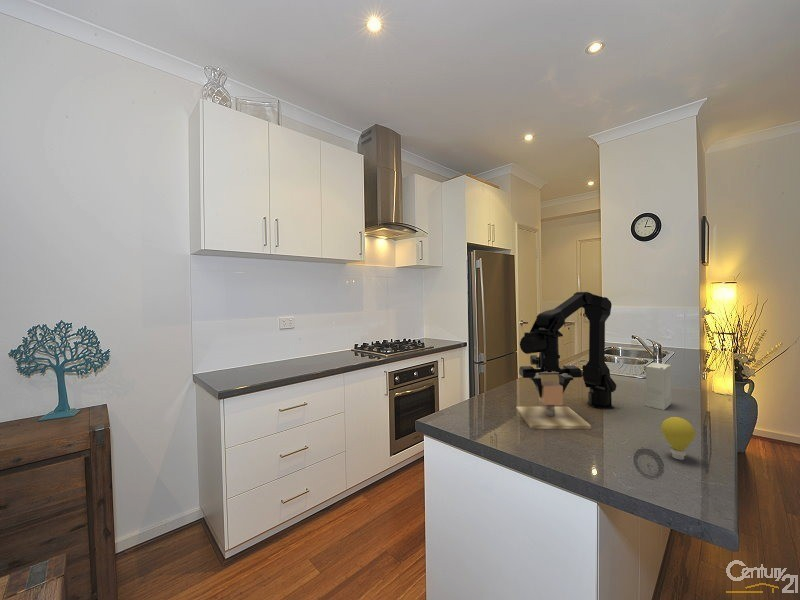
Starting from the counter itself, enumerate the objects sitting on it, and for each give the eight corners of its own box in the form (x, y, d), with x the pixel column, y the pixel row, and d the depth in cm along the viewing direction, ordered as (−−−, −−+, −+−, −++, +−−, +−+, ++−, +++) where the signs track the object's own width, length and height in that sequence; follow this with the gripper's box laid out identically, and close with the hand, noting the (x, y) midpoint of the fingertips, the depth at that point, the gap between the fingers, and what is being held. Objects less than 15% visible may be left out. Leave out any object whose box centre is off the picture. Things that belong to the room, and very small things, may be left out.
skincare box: (652, 401, 130) (651, 362, 130) (672, 405, 125) (671, 364, 125) (645, 406, 125) (644, 365, 124) (665, 410, 120) (665, 367, 120)
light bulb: (654, 452, 90) (654, 413, 90) (678, 450, 91) (678, 412, 90) (677, 464, 83) (676, 423, 83) (703, 462, 84) (702, 421, 84)
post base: (568, 409, 124) (567, 394, 124) (591, 428, 106) (590, 411, 106) (516, 409, 126) (516, 394, 125) (530, 428, 108) (530, 411, 108)
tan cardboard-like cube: (556, 399, 118) (556, 381, 118) (563, 404, 112) (562, 386, 112) (538, 399, 119) (538, 381, 119) (544, 404, 113) (543, 386, 113)
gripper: (568, 346, 123) (569, 390, 123) (514, 347, 124) (515, 390, 125) (582, 351, 111) (583, 400, 112) (522, 352, 113) (524, 400, 113)
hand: (550, 397), depth 116 cm, fingers closed on tan cardboard-like cube, 6 cm apart
